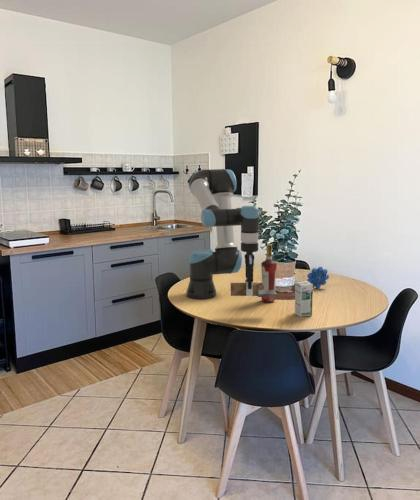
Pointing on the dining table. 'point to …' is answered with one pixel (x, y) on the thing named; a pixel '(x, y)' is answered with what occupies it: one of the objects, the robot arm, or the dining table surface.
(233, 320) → the dining table surface
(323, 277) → the grapes
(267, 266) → the liquor
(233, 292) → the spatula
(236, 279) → the dining table surface
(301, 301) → the syrup box
